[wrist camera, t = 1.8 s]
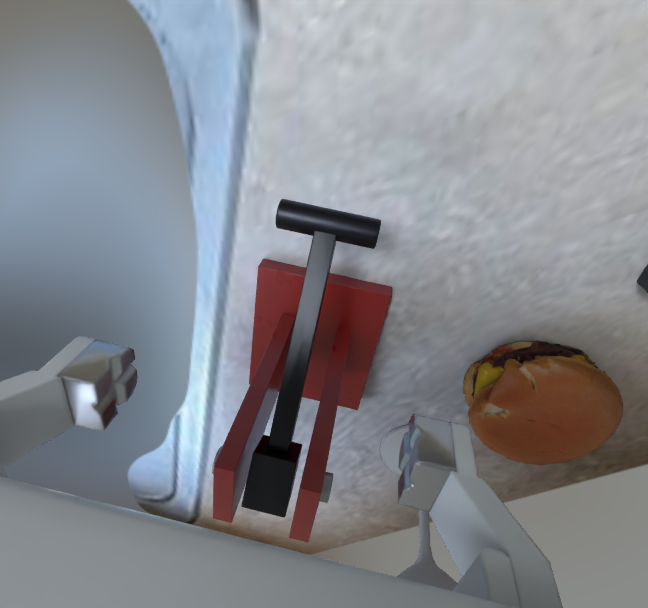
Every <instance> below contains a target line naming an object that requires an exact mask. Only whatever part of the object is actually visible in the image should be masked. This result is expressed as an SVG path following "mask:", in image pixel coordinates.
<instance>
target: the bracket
mask: <svg viewBox="0 0 648 608" xmlns="http://www.w3.org/2000/svg"><path fill="white" fill-rule="evenodd" d="M305 272H306V268H303V267H299V266H294V265H290V264H285V263H281V262H276V261H272V260H267V259H263V260H262V262H261V263H260V265H259V266H258V276H257V289H256V302H255V314H254V327H253V340H252V353H251V365H250V378H249V384H250V387H249V389H248V391H247V393H246V396H245V398H244V400H243V402H242V404H241V407H240V409H239V411H238V413H237V416H236V418H235V420H234V422H233V425H232V427H231V429H230V431H229V433H228V436H227V438H226V440H225V442H224V445H223V446H221V447H220V448H219V450H218V452H217V454H216V457H215V460H214V463H213V469H212V473H213V474H214V485H213V518H214V519H218V520H222V521H226V522H230V523H231V522H232V520H233V518H234V515H235V512H236V509H237V506H238V504H239V501H240V498H241V495H242V493H243V490H244V487H245V484H246V481H247V478H248V473H249V468H250V464H251V459H252V454H253V452H254V450H255V448H256V447H257V445H258V443H259V441H260V440H261V438H262V436H263V434H264V431H265V429H266V426H267V423H268V420H269V417H270V415H271V412H272V409H273V406H274V403H275V401H276V398H277V395H278V392H279V391H280V387H281V382H282V377H283V373H284V368H285V364H286V359H287V354H288V350H289V345H290V341H291V336H292V332H293V327H294V322H295V318H296V313H297V309H298V304H299V299H300V295H301V290H302V286H303V281H304V277H305ZM391 295H392V287H389V286H385V285H380V284H376V283H371V282H366V281H362V280H357V279H353V278H348V277H344V276H339V275H335V274H330V273H329V277H328V281H327V286H326V290H325V295H324V300H323V304H322V309H321V313H320V318H319V322H318V327H317V331H316V336H315V340H314V345H313V349H312V354H311V358H310V363H309V367H308V372H307V376H306V381H305V385H304V390H303V394H302V397H305V398H309V399H313V400H318V401H320V404H319V408H318V412H317V416H316V421H315V425H314V429H313V433H312V438H311V442H310V446H309V450H308V455H307V459H306V463H305V467H304V472H303V476H302V480H301V484H300V489H299V493H298V498H297V503H296V507H295V512H294V517H293V521H292V526H291V531H290V535H289V538H292V539H296V540H300V541H304V542H308V541H309V538H310V534H311V530H312V527H313V523H314V519H315V515H316V512H317V508H318V504H319V501H321V502H325V503H327V502H328V500H329V496H330V491H331V486H332V481H333V473H329V472H325V471H326V466H327V461H328V455H329V450H330V444H331V439H332V433H333V428H334V423H335V417H336V412H337V406H338V405H339V406H343V407H347V408H351V409H355V410H358V407H359V404H360V401H361V397H362V394H363V391H364V387H365V384H366V380H367V377H368V374H369V370H370V367H371V364H372V360H373V357H374V353H375V350H376V347H377V343H378V340H379V336H380V333H381V330H382V326H383V323H384V320H385V316H386V313H387V309H388V306H389V303H390V299H391Z"/></svg>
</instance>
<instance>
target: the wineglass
mask: <svg viewBox="0 0 648 608" xmlns="http://www.w3.org/2000/svg"><path fill="white" fill-rule="evenodd" d="M408 431H409V424H408V425H405V426H401V427H398V428H396V429H394V430H392V431H390V432H389V433H388V434H387V435H386V436H385V437H384V439H383V440H382V442H381V446H380V455H381V458H382V460H383V462H384V464H385V465H386V466H387V467H388V468H389V469H390V470H392V471H393V472H395V473H396V474H398V475H400V476H401V474H402V472H401V470H400V469H399V467H398V466H399V451H400V446H401V442H402V439H403V436H404V434H405V433H407V432H408ZM419 528H420V529H419V530H420V548H419V555H418V558H417V560H416V562H415V564H414V565H412V566H411V567H409V568H407V569H406V570H405V571H403V572H402V573H401V574H400V575H398V576H397V577H398V578H402V579H406V580H410V581H414V582H418V583H422V584H426V585H430V586H434V587H438V588H441V589H445V590H449V591H452V590H453V589H454V588H455V586H456V585H457V584H458V583H457V582H455V581H454V580H453V579H452V578H451V577H450V576H449V575H448V574H446V573H445V572H444V571H443V570H441V569H440V568H439V567H438V566H437V565H436V563H435V561H434V559H433V557H432V552H431V547H430V532H429V512H427V511H423V510H420V509H419Z"/></svg>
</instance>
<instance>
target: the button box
mask: <svg viewBox="0 0 648 608" xmlns="http://www.w3.org/2000/svg"><path fill="white" fill-rule="evenodd" d="M637 282H638V283H639V284H640V285H641V286H642V287H643V288H644V289H645V290H646V291H647V293H648V266H647V267H646V268H645V270H644V271H643V273H642V274H641V276H640V277H639V279H638V280H637Z"/></svg>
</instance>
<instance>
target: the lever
mask: <svg viewBox="0 0 648 608" xmlns="http://www.w3.org/2000/svg"><path fill="white" fill-rule="evenodd" d="M380 226H381V220H379V219H375V218H370V217H365V216H361V215H356V214H351V213H347V212H342V211H337V210H333V209H328V208H323V207H318V206H314V205H309V204H304V203H300V202H295V201H290V200H286V199H282V200H281V201H280V203H279V206H278V209H277V214H276V227H277V228H280V229H285V230H289V231H294V232H298V233H303V234H308V235H312V236H313V240H312V244H311V249H310V254H309V258H308V263H307V267H306V272H305V277H304V281H303V286H302V290H301V295H300V299H299V304H298V309H297V313H296V318H295V322H294V327H293V332H292V336H291V341H290V345H289V350H288V354H287V359H286V364H285V368H284V373H283V377H282V382H281V387H280V391H279V396H278V400H277V405H276V410H275V414H274V419H273V423H272V428H271V432H270V436H266V435H263V436H262V438H261V440H260V441H259V443H258V445H257V447H256V448H255V450H254V452H253V454H252V459H251V464H250V468H249V473H248V478H247V482H246V487H245V491H244V496H243V501H242V507H245V508H249V509H253V510H257V511H261V512H264V513H268V514H272V515H276V516H280V517H285V515H286V512H287V508H288V504H289V501H290V497H291V494H292V489H293V485H294V480H295V476H296V472H297V467H298V463H299V458H300V454H301V449H302V444H299V443H295V442H292V439H293V435H294V430H295V426H296V421H297V417H298V412H299V408H300V403H301V399H302V394H303V390H304V385H305V381H306V376H307V372H308V367H309V363H310V358H311V354H312V349H313V345H314V340H315V336H316V331H317V327H318V322H319V318H320V313H321V309H322V304H323V300H324V295H325V290H326V286H327V281H328V277H329V272H330V268H331V263H332V259H333V254H334V250H335V245H336V241H340V242H344V243H349V244H354V245H358V246H363V247H367V248H372V249H374V248H375V247H376V243H377V239H378V235H379V231H380Z"/></svg>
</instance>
